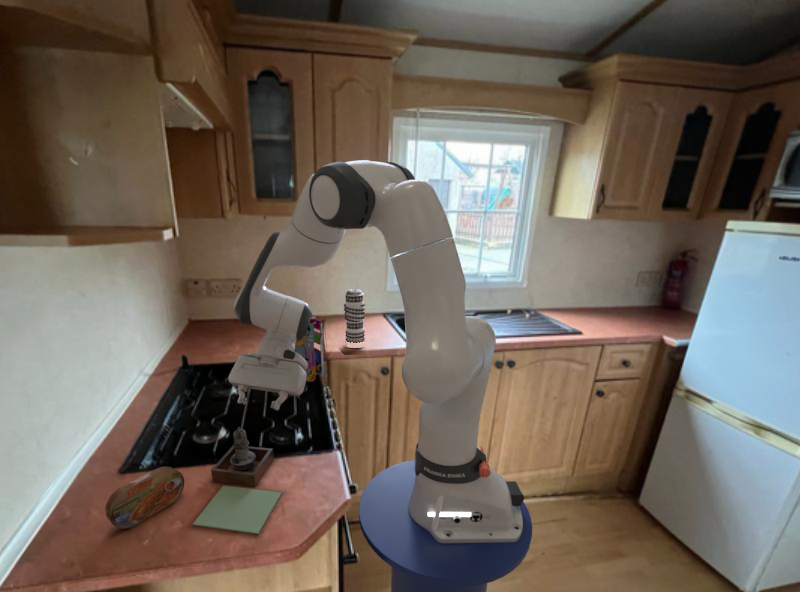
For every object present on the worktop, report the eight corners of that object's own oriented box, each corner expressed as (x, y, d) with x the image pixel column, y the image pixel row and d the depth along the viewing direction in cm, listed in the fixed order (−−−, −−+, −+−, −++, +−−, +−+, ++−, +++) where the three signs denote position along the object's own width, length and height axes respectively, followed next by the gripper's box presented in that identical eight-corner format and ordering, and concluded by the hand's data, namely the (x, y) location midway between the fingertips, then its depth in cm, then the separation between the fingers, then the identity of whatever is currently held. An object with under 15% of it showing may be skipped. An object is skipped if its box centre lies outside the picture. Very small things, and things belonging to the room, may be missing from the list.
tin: (115, 537, 79) (105, 502, 76) (108, 530, 81) (98, 495, 78) (188, 495, 90) (181, 463, 87) (180, 489, 92) (174, 457, 89)
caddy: (274, 459, 103) (272, 448, 101) (255, 486, 93) (254, 475, 92) (234, 455, 104) (233, 444, 103) (212, 481, 95) (210, 470, 94)
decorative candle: (358, 341, 189) (357, 287, 180) (369, 346, 182) (369, 290, 173) (341, 345, 184) (339, 289, 175) (352, 350, 177) (350, 293, 168)
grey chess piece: (259, 462, 102) (254, 419, 97) (254, 477, 96) (248, 432, 92) (235, 463, 101) (228, 420, 97) (229, 478, 96) (222, 434, 92)
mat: (281, 493, 91) (281, 492, 90) (258, 534, 79) (258, 533, 79) (223, 486, 93) (223, 485, 93) (192, 525, 82) (192, 523, 82)
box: (258, 380, 148) (251, 315, 139) (267, 374, 153) (260, 310, 145) (322, 389, 141) (318, 320, 132) (329, 381, 146) (326, 315, 138)
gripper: (234, 346, 107) (215, 396, 102) (305, 355, 101) (288, 408, 95) (246, 357, 112) (228, 404, 107) (314, 365, 106) (298, 416, 101)
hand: (257, 406), depth 101 cm, fingers open, 8 cm apart
